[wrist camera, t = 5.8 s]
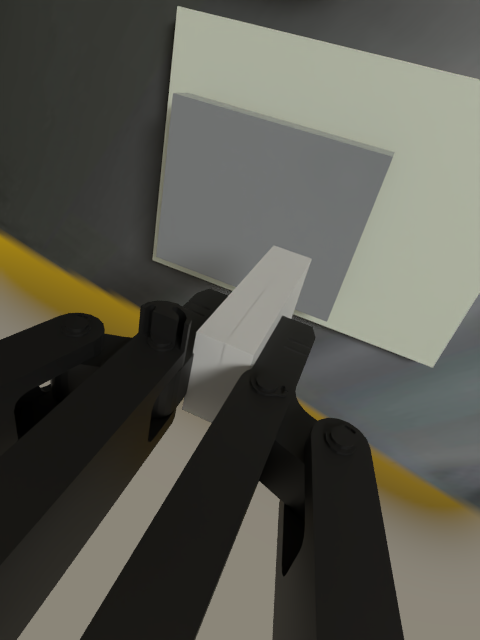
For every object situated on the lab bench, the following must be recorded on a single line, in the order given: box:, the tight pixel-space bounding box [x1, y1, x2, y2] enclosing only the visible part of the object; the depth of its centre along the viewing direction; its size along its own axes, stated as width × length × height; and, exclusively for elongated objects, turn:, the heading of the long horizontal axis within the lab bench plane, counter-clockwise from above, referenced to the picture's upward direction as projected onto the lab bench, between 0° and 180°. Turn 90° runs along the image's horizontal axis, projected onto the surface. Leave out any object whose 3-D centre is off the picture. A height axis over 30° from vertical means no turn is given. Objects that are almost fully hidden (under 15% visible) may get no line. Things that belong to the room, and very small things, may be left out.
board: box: [152, 6, 480, 368], centre depth 23 cm, size 19×14×1 cm
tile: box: [156, 93, 395, 322], centre depth 22 cm, size 2×9×11 cm
